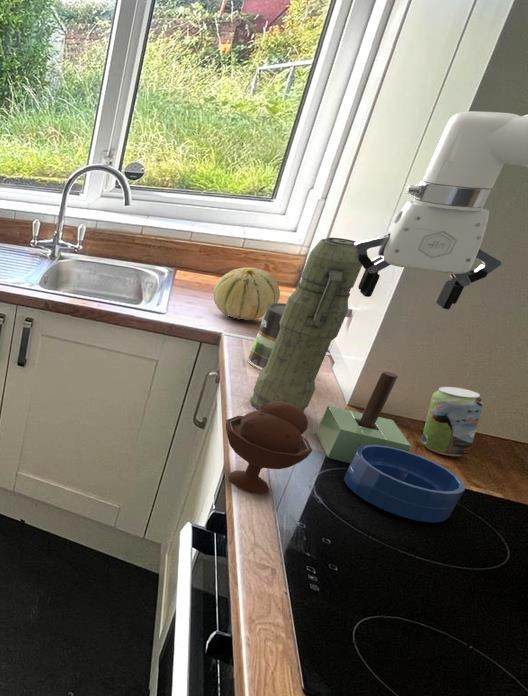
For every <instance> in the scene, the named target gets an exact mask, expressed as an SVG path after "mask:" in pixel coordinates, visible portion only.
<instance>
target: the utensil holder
mask: <svg viewBox="0 0 528 696" xmlns="http://www.w3.org/2000/svg"><path fill="white" fill-rule="evenodd" d="M362 414H363V412H359V411H355V410H354V411H353V410H349V409H345V408H339V407H335V406H331V405H327V407H326V408H325V411H324V413H323V416H322V418H321V421H320V423H319V425H318V426H317V427H318V428H317V430H316V432H315V434H316V436H317V438H318V440H319V442H320V444H321V447H322V448H323V451H324V452H325V455H326V457H327V458H328V459H332V460H335V461H339V462H343V463H347V464H350V463H351V461H352V459H353V457H354V455H355V453H356V451H357V449H358V447H361V446H363V445H382V446H389V447H393V448H397V449H401V450H405V451H408V452H410V449H411V448H412V445H411V443H410V442H409V440H408V439H407V438H406V437H405V435H404V434H403V432H402V430H401V429H400V427H398V425H397V423H395V421H394V420H393V419H389V418H385V417H381V416H379V417H378V419H377V421H376V423H375V425H374V427H373V429H370V428H366V427H361V426H359V425H358V423H359V420H360V418H361V416H362Z"/></svg>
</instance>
